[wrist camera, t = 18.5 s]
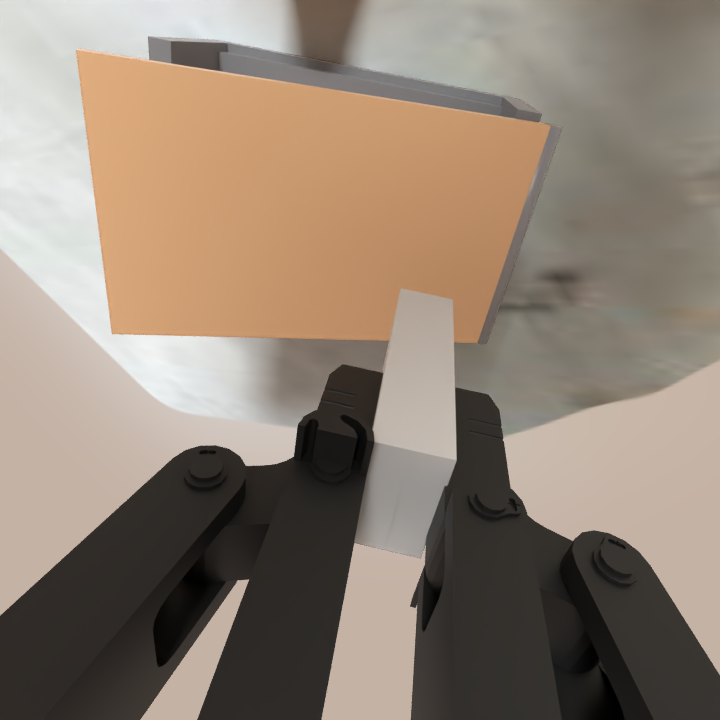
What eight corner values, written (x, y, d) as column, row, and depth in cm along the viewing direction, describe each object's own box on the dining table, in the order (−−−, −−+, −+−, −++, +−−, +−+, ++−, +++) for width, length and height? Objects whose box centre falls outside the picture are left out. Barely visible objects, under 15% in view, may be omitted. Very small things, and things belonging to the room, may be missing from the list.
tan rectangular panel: (81, 48, 16) (74, 50, 16) (555, 124, 21) (566, 128, 20) (114, 325, 22) (111, 335, 21) (483, 336, 27) (489, 344, 26)
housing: (216, 39, 28) (148, 36, 21) (519, 99, 27) (541, 114, 21) (215, 231, 34) (161, 273, 27) (464, 284, 33) (468, 339, 27)
